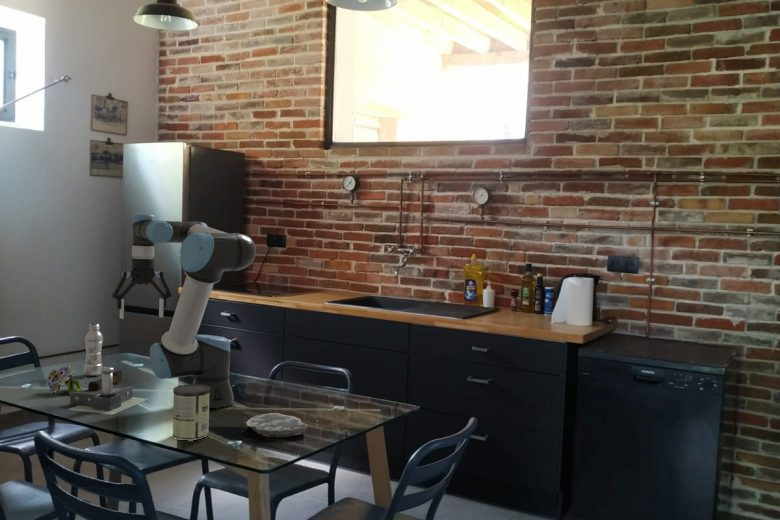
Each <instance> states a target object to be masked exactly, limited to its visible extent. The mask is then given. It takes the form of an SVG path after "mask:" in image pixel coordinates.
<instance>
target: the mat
mask: <svg viewBox="0 0 780 520" xmlns="http://www.w3.org/2000/svg"><path fill="white" fill-rule="evenodd" d="M147 400H149V398H146V397H145V398H143V397H134V396H132V398H131V399H128V400H126V401H123V402H121V407H119V408H117V409H114V410H112V411H103V410H93V407H88V406H79V405H75V406H74V407H70V408H68V411H77V412H86V413H94V414H95V413H96V414H101V415H103V414H104V415H112V416H113V415H115V414H118V413H119V412H122V411H124V410H127V409H130V408H131V407H134V406H136V405H138V404H141V403H143V402H146V401H147Z"/></svg>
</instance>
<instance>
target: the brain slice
mask: <svg viewBox="0 0 780 520" xmlns="http://www.w3.org/2000/svg"><path fill="white" fill-rule="evenodd" d="M245 424H246V426H247V427H249V428H251V430H252V431H253V430H254V431H256V432H257V433H258V434H257V433H256V434H257V435H259V434H268V435H290V434H298V433H302V432H305V431H306V432H307V430H308V427H309V425H308V424H306V423H305V422H302V420H301V418H299V417H296V416H293V415H286V414H282V413H279V412H272V413H271V412H269V413H264V414H263V413H262V414H258V415H257V414H256V415H253V417H250V418H249V419H248V420H246V422H245ZM254 431H253V432H254ZM306 432H305V433H306Z"/></svg>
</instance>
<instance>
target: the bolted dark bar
mask: <svg viewBox="0 0 780 520" xmlns="http://www.w3.org/2000/svg"><path fill="white" fill-rule="evenodd" d="M112 394H121V402H123V401H126V400H128V399H131V398H132V397H133V386H131V385H129V386H126V387H123V388H120V389H118V390H114V391H112Z"/></svg>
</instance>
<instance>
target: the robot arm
mask: <svg viewBox="0 0 780 520" xmlns="http://www.w3.org/2000/svg"><path fill="white" fill-rule="evenodd" d="M131 225H132V229H131V230H132V232H131V233H132V234H131V235H132V237H131V240H132V241H131V242H132V243H131V245H132V247H131V256H132V259H131V271H130V272H129V271H121V277H120V279H119V280H118V283H117V284H116V286H115V288H114V290H113V291H112V293H111V297H112V298H113V299H116V308H117V309H118V310H119V319H121V320H124V318H125V317H124V316H125V313H124V311H125V299H123V298H124V297H125V296H126V295H127V294H128V292H129V291H131V289H133V287H134V286H135V285H136V284H138V285H149V284H150V286H151V287H152V288H153V289H154V290H155V291H156V293H158V295H159V296H160V297H161V298H159V301H158V304H159V305H158V307H159V308H158V310H159V311H158V317H159V318H164V309H166V308H167V299H168V298H171V297H172V296H173V294H172V292H171V290H170V288H169V286H168V284H167V282H166V280H165V278H164V272H163V271H161V270H160V271H159V270H158V271H155V259H154V257H155V244H165V243H167V244H168V243H169V244H171V243H173V244H175V243H176V244H179V243H181V247H180V251H179V254H180V257H179V263H180V266H181V268H182V269H183V273H184V274H185V275H186V276H185V279H184V283H183V286H182V288H181V291H180V294H179V297H178V301H177V304H176V307H175V310H174V314H173V316H172V317H173V318H172V321H171V324H170V326H169V330H168V331H166V332H165V333H164V334H163V335H162V336H161V339H160V342H155V343H153V344H152V345H151V346H150V349H149V362H150V367H151V369H152V372H153V374H154V375H155V377H156V378H158V379H160V380H165V379H167V380H168V379H169V380H171V379H177V378H184V377H189V376H190V377H191V376H193V382H192V384H199V385H206V386H208V387H210V394H209V408H216V409H221V408H220V407H224V408H227V407H226V406H228V407H230V405H231V406H232V405H234V403H235V401H234V400H235V395H234V392H233V389H232V386H231V383H230V364H231V363H230V362H231V344H230V343H231V342H230V340H229V339H228V338H226V337H223V336H219V335H212V334H211V335H210V334H198V331H199V329H200V326H201V323H202V320H203V317H204V313H205V311H206V308H207V305H208V301H209V299H210V298H211V297H210V296H211V294H212V290H213V288H214V284H217V283H219V282H220V281H221V279H222V276H223V273H224V272H233V271H234V272H235V271H236V272H237V271H242V270H244V269H246V268H248V267H249V266H250V265H251V264H252V263H253V262H254V261H255V259H256V254H257V246H256V244H255V242H254V240H253V239H252V238H251V237H249V236H248V235H246V234H242V233H239V232H233V233H232V232H231V233H230V232H225V231H221V230H219V229H215V228H213V227H209V226H208V225H207V223H205V222H202V221H201V222H200V221H178V220H176V221H175V220H156V216H155V215H154V214H145V213H136V214H135V213H134V215H133V217H132V223H131ZM129 277H130V278H131V280H130V281H129V282H128V284H127V285H126V286H125V287H124V289H123V290H122V288H123V286H124V284H125V282H126V280H127V279H128V278H129ZM155 277H156V278H158V280H159V283H160V285H161V287H162V288H163V290H164V291H163V290H162V289H161V288H160V287H159V286H158V284H157V283H156V282H155V280H154V278H155ZM121 290H122V291H121Z"/></svg>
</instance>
